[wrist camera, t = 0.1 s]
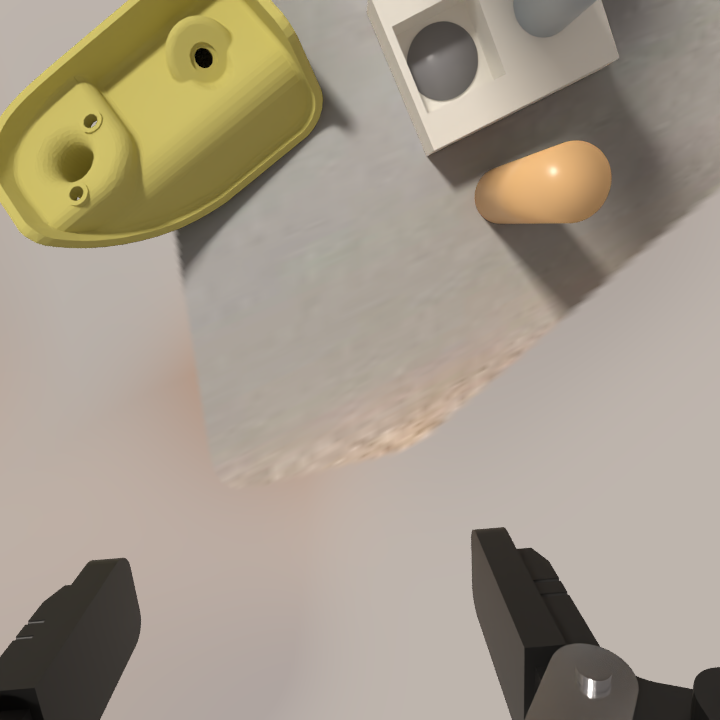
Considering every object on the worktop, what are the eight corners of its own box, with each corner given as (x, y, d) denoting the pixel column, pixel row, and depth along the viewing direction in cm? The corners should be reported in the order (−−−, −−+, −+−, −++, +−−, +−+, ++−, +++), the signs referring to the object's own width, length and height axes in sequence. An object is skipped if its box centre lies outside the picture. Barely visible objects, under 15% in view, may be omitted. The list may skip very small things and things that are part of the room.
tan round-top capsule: (473, 169, 38) (533, 144, 26) (528, 163, 38) (612, 136, 27) (475, 226, 39) (534, 226, 27) (529, 221, 39) (610, 219, 28)
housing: (426, 156, 38) (469, 123, 26) (366, 12, 35) (381, -101, 23) (597, 71, 37) (726, -6, 25) (547, -83, 34) (662, -253, 22)
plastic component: (208, -69, 32) (303, 36, 30) (254, 25, 39) (332, 115, 37) (-39, 140, 33) (34, 257, 31) (50, 195, 40) (114, 293, 38)
